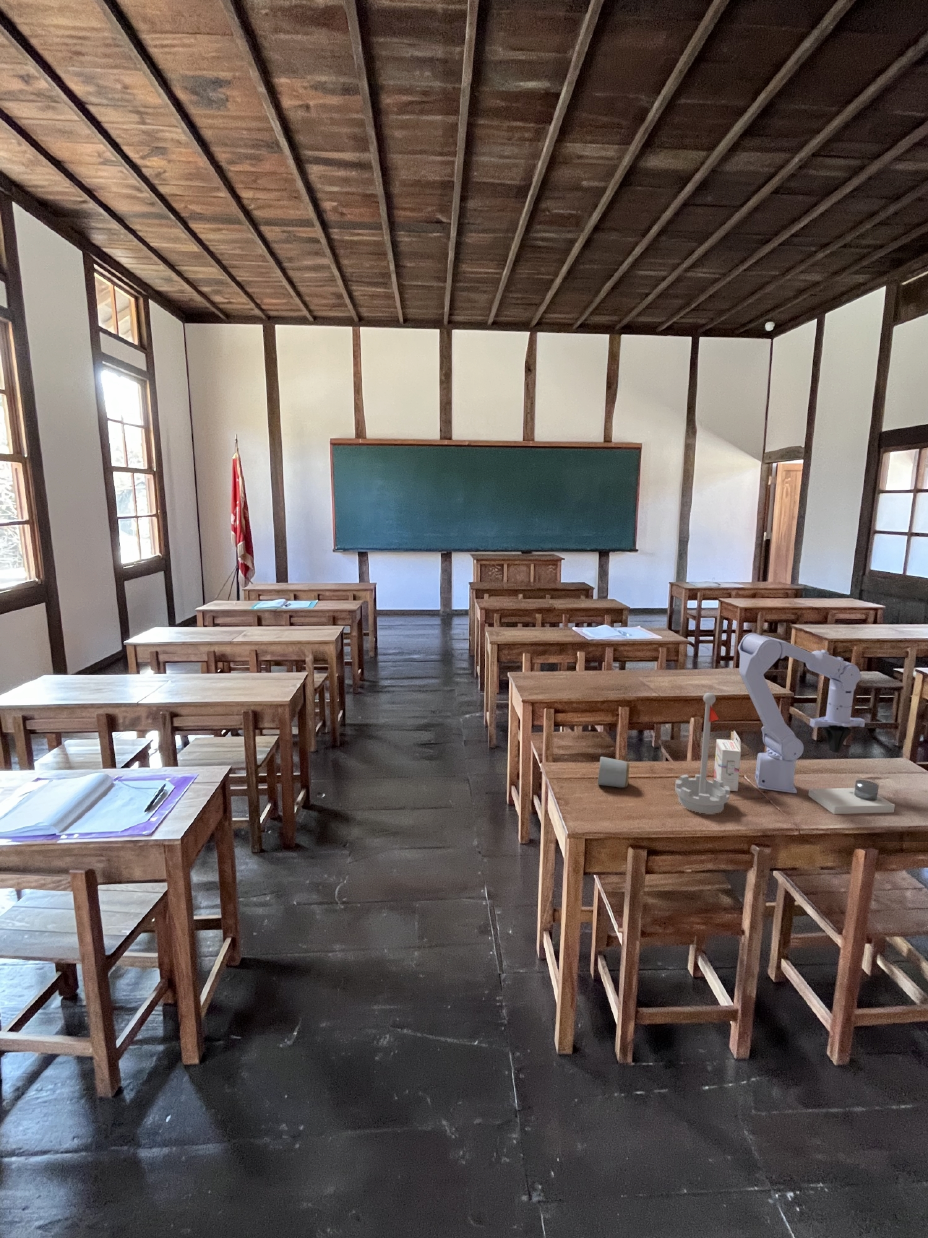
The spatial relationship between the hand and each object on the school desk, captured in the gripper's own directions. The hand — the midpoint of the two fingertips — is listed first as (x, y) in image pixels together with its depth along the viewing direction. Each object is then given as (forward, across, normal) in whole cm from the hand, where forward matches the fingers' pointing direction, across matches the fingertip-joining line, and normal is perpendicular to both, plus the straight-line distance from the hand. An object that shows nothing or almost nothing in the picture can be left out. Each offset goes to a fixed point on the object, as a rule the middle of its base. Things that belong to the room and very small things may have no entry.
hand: (834, 751), depth 165 cm
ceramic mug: (+10, -61, +4) cm, 62 cm away
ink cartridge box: (+10, -30, +2) cm, 31 cm away
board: (+10, -3, -11) cm, 15 cm away
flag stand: (+10, -42, -9) cm, 44 cm away
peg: (+10, +1, -11) cm, 15 cm away
